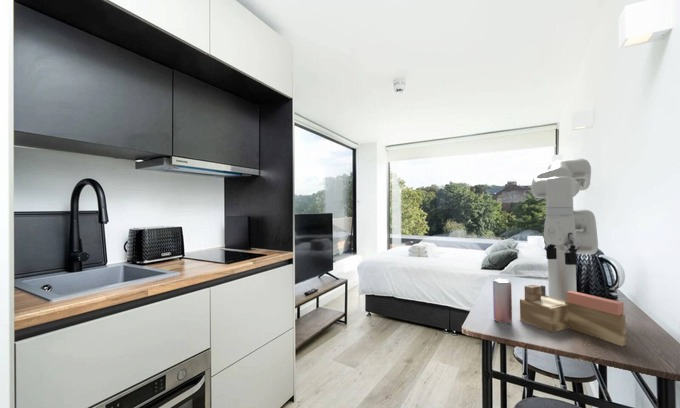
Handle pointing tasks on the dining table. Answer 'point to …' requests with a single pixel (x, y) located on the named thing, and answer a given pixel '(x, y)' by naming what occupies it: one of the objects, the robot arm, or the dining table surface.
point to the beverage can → (502, 301)
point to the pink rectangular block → (595, 302)
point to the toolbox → (574, 319)
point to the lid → (540, 297)
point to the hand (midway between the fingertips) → (560, 261)
